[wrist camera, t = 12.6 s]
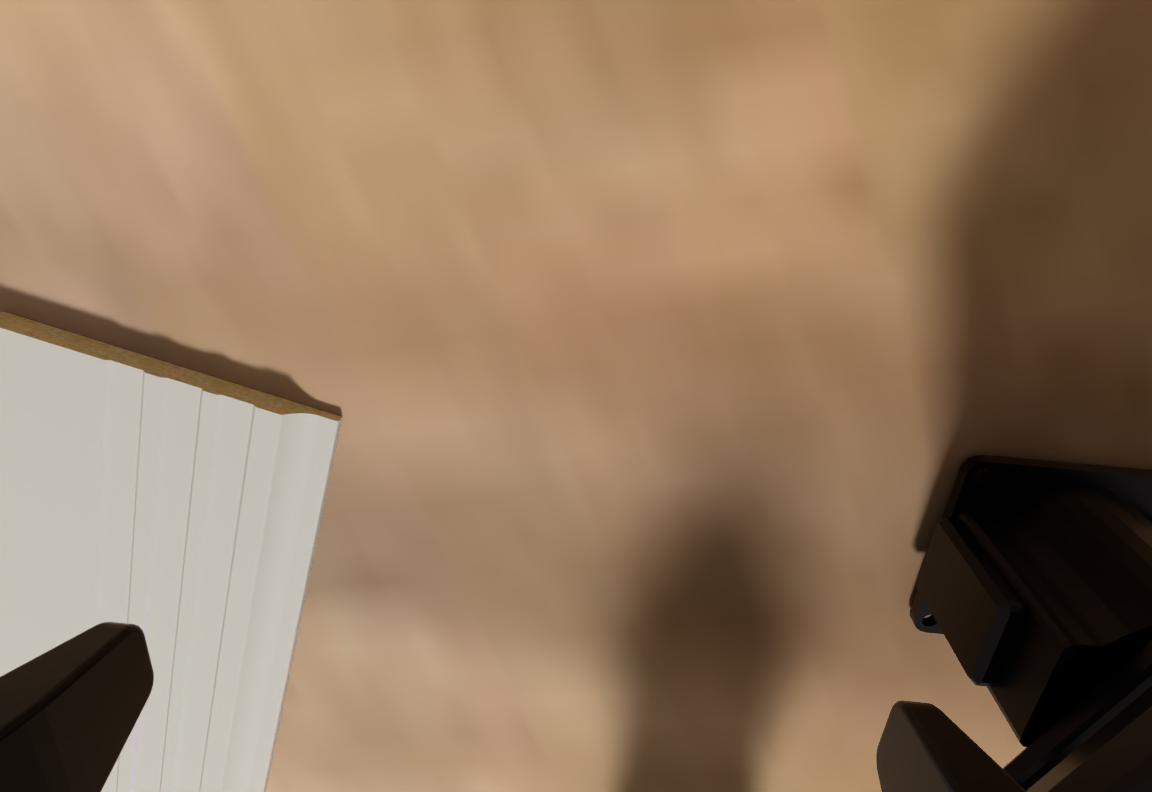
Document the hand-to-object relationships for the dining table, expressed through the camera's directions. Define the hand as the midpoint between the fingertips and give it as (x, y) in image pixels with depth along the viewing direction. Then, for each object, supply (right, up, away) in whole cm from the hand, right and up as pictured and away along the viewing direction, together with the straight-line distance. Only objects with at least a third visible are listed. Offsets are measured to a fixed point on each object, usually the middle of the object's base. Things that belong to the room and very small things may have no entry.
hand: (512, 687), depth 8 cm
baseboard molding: (-16, -9, +20) cm, 27 cm away
